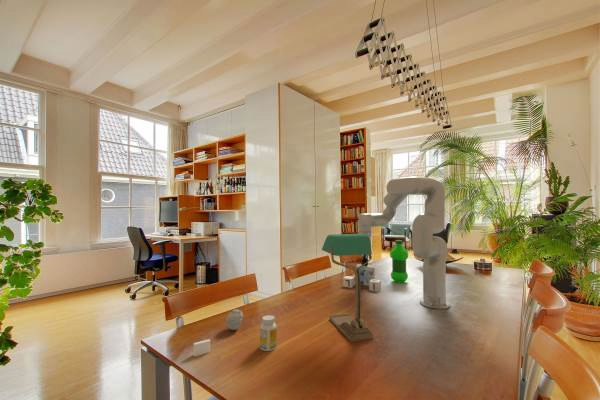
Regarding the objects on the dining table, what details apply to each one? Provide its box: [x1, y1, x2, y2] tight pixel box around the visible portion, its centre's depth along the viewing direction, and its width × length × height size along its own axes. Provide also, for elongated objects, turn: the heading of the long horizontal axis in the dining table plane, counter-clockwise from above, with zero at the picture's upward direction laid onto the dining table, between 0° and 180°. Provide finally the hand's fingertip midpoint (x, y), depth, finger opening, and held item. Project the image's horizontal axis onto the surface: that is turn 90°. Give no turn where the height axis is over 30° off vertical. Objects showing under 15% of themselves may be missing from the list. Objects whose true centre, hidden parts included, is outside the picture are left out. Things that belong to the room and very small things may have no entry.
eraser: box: [192, 338, 212, 357], centre depth 87 cm, size 1×5×4 cm, turn 124°
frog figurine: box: [224, 308, 244, 331], centre depth 104 cm, size 6×7×7 cm
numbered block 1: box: [368, 279, 382, 293], centre depth 154 cm, size 5×5×5 cm
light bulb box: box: [355, 263, 376, 287], centre depth 166 cm, size 11×7×11 cm, turn 73°
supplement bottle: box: [259, 314, 278, 352], centre depth 91 cm, size 5×5×10 cm
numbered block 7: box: [342, 275, 356, 288], centre depth 161 cm, size 5×5×5 cm
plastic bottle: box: [389, 239, 409, 284], centre depth 170 cm, size 10×10×25 cm
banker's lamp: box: [321, 233, 374, 342], centre depth 106 cm, size 16×21×35 cm
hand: (365, 265), depth 166 cm, fingers closed
